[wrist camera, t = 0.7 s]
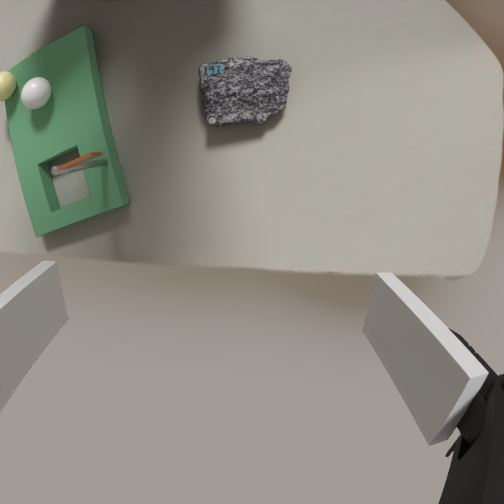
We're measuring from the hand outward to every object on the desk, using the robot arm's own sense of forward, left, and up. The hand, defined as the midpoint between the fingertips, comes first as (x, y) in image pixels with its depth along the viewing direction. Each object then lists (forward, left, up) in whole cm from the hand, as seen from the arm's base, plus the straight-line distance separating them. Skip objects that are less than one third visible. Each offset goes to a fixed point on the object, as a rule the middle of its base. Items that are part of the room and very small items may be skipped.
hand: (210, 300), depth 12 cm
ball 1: (-24, -24, -21) cm, 40 cm away
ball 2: (-20, -19, -21) cm, 34 cm away
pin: (-8, -11, -23) cm, 27 cm away
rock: (-12, +4, -26) cm, 29 cm away
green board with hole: (-15, -19, -26) cm, 35 cm away
